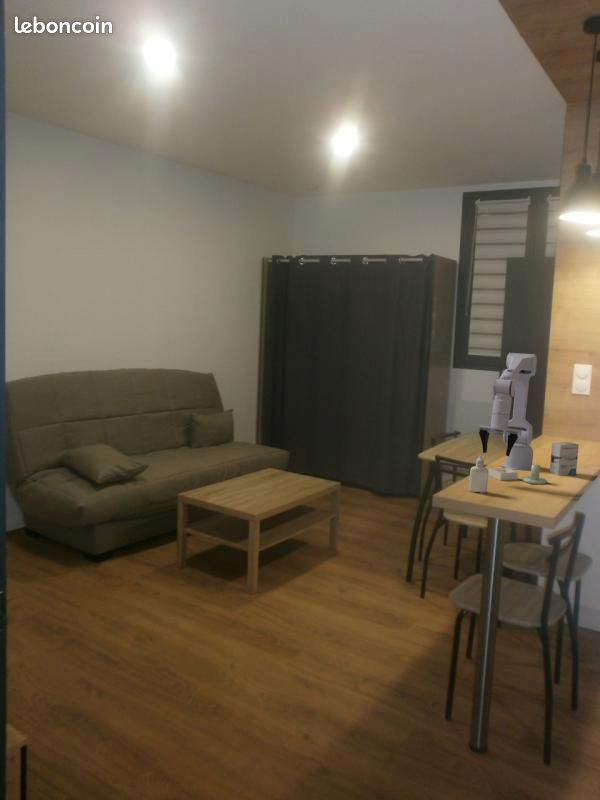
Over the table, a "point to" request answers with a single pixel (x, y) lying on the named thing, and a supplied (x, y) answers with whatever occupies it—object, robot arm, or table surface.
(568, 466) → the ink box
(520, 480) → the mat
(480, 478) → the eye dropper bottle
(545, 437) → the table surface
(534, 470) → the lid
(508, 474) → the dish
